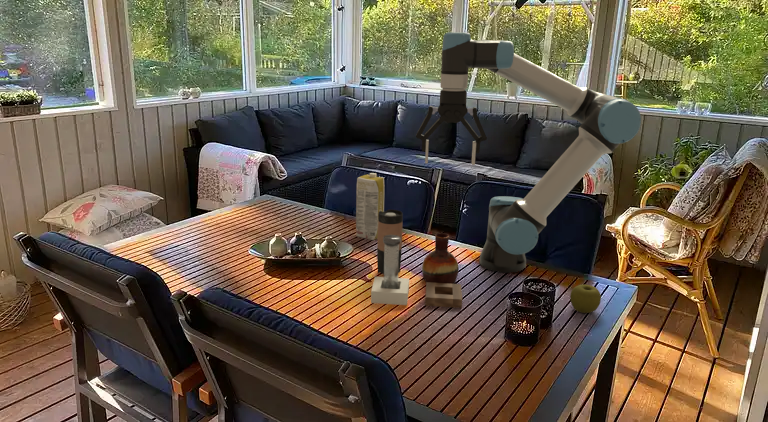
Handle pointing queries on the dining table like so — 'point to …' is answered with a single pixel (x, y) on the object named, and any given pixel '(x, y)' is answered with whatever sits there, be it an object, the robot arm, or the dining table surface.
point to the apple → (585, 298)
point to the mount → (443, 295)
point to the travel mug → (388, 226)
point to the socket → (390, 292)
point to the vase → (440, 263)
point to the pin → (391, 261)
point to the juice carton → (369, 205)
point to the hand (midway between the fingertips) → (449, 163)
